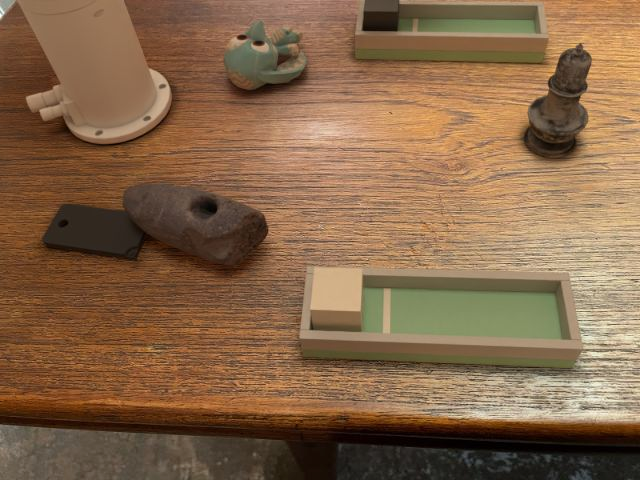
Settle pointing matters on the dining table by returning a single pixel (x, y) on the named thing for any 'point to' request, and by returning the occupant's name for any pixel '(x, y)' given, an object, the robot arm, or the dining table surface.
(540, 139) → the chess piece
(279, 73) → the teal creature figurine
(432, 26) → the green beige rectangular tray
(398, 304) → the tray
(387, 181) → the dining table surface
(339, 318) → the beige cube
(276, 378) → the dining table surface
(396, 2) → the dark brown cube
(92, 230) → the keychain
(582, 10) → the dining table surface
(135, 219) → the perforated stone tool
